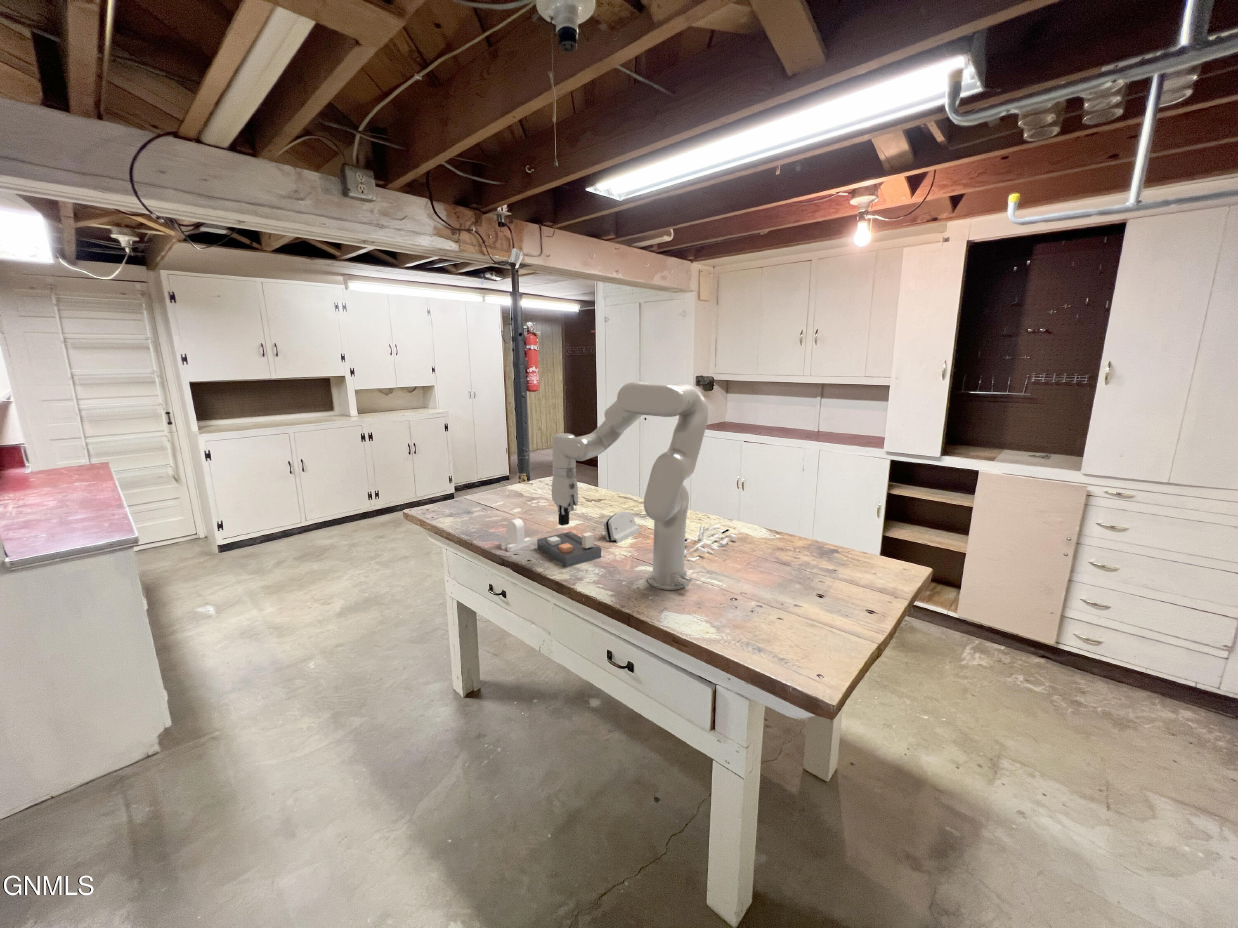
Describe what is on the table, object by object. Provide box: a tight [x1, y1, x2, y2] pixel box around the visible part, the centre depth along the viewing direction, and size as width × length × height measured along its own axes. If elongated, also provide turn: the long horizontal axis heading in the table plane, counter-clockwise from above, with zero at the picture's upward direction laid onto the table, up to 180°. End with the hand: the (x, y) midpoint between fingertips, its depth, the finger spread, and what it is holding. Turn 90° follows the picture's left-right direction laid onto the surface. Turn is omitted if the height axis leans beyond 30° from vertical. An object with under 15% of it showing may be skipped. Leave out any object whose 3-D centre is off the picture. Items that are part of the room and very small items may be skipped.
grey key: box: [547, 536, 561, 546], centre depth 167 cm, size 4×4×2 cm
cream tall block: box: [581, 531, 595, 548], centre depth 162 cm, size 2×3×4 cm
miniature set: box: [684, 524, 738, 562], centre depth 173 cm, size 6×35×12 cm
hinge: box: [603, 511, 641, 544], centre depth 184 cm, size 17×5×10 cm, turn 146°
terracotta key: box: [559, 543, 573, 553], centre depth 161 cm, size 4×4×2 cm
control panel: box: [536, 531, 602, 568], centre depth 167 cm, size 20×14×4 cm
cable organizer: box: [500, 518, 531, 552], centre depth 172 cm, size 5×10×10 cm, turn 143°
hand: (563, 524), depth 160 cm, fingers closed
